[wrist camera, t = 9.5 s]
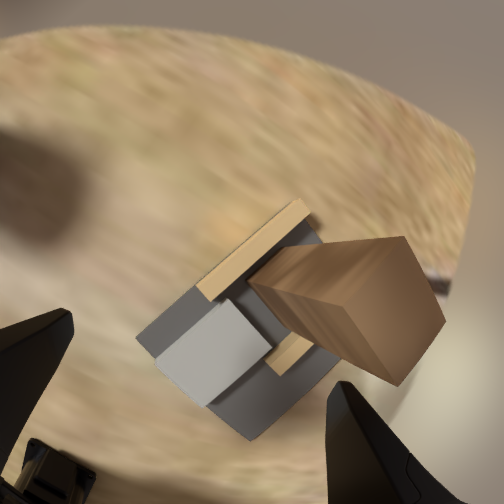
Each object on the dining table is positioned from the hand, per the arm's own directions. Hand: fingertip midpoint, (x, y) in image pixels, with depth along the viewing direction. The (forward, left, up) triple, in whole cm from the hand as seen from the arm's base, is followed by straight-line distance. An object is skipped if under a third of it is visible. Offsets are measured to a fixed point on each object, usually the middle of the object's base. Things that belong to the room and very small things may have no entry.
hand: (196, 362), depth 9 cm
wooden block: (+5, -6, -11) cm, 13 cm away
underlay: (+1, -6, -11) cm, 13 cm away
